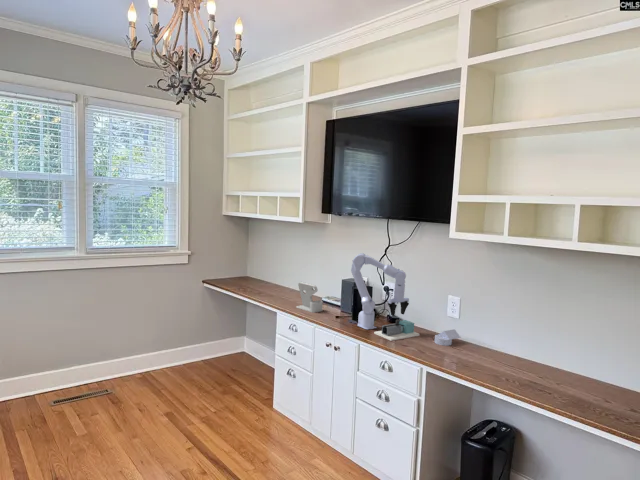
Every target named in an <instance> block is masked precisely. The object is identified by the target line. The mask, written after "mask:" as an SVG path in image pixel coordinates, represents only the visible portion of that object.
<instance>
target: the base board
mask: <svg viewBox="0 0 640 480" xmlns="http://www.w3.org/2000/svg"><path fill="white" fill-rule="evenodd" d="M373 334H374V335H376V336H379V337H381V338H384V339H387V341H397V340H402V339H409V338H415V337H419V336H420V333H418V332H416V331H414V332H413V333H407V334H405V333H402V332H401V334H397V335H392V336H386V335H383V334H382V330H378V331H377V330H376V331H373Z"/></svg>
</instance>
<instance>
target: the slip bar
mask: <svg viewBox="0 0 640 480" xmlns="http://www.w3.org/2000/svg"><path fill="white" fill-rule="evenodd" d="M400 321H401V320H400V319H396V320H395V323H396V325H399V322H400ZM402 331H404V325H401V332H402Z"/></svg>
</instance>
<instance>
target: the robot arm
mask: <svg viewBox="0 0 640 480" xmlns="http://www.w3.org/2000/svg"><path fill="white" fill-rule="evenodd" d="M364 265H371V266H373V267H376V268H378V269H380V270H381V271H383V273H384V274H385V275H387V276H389V277H391V278H392V279H394V280H395V283H394V290H393V291H394V293H393V296H394V297H393V298H391V299H388V300H387V304H388V305H387V306H388V307H389V310H390V315H391V316H393V317H394V316H395V315H396V309H397V307H398V304H397V303H399V304H400V314H401V315H405V313H406V311H407V308H408V306H409V305H410V298H408V297H405V290H406V289H405V288H406V285H405V284H406V277H407V274H406V272H405V271H404V270H402V269H400V268H396V267H395V266H393V264H389V263H388V264H385V263H382V262H381V261H379V260H378V259H375V258H374V257H372V256H370V255H368V254H366V253H363V252H362V253H358V254H356V255H355V256H354V257H353V259H352V263H351V269H350V272H351V274H352V277H353V280H354V283H355V285H356V288H357V290H358V293H359V296H360V298H361V305H362V310H361V311H360V312H358V316H357V317H358V318H357V319H358V320H357V322H358V323H357V324H356V326H357V327H359V328H362V329H364V330H368V331H369V330H373V329H377V326H375V313H376V312H375V311H374V309H375V308H376V303H375V301H374V300H373V299H372V297H371V296H370V293H369V291H368V288H367V285H366V283H365V280H364V278H363V277H364V276H363V275H362V272H361V269H362V268H363V266H364Z"/></svg>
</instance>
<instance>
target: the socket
mask: <svg viewBox="0 0 640 480" xmlns="http://www.w3.org/2000/svg"><path fill="white" fill-rule="evenodd" d="M399 325H404V331H402V333H405V334H407V333H413V332H415V323H414V322H412V321H409V320H407V319H403V320H400V322H399Z"/></svg>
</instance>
